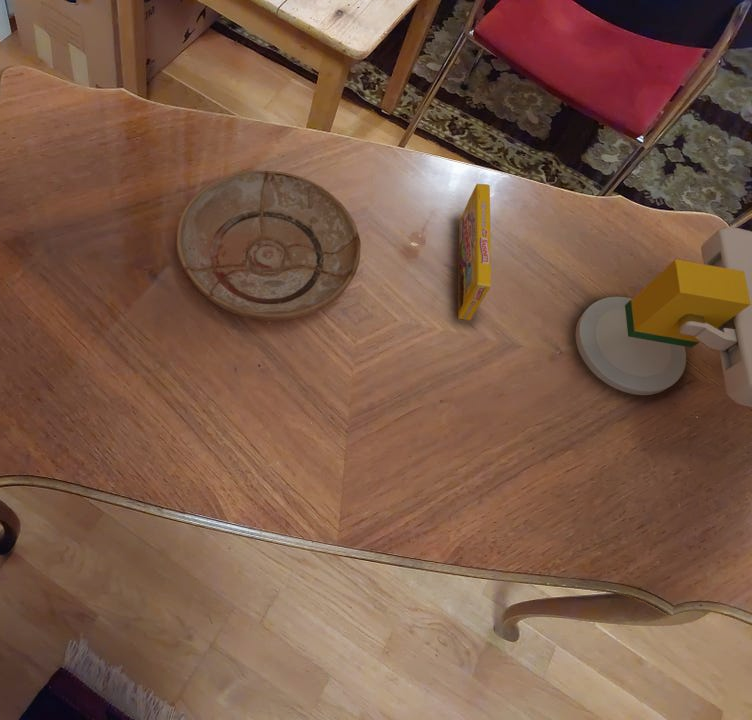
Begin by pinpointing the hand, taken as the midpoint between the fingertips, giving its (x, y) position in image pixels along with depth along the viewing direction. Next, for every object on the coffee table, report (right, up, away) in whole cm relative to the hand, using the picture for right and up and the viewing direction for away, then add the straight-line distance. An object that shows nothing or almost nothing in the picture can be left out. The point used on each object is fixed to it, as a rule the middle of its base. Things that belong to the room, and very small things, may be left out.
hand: (678, 301), depth 68 cm
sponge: (0, -2, +4) cm, 5 cm away
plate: (+4, -4, +18) cm, 19 cm away
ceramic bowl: (-43, +7, +19) cm, 48 cm away
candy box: (-16, +6, +21) cm, 28 cm away
